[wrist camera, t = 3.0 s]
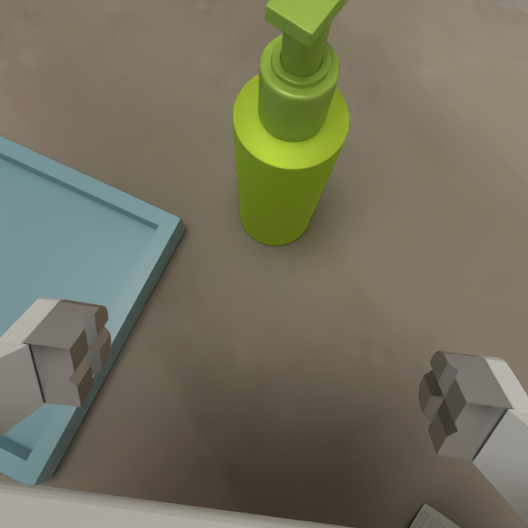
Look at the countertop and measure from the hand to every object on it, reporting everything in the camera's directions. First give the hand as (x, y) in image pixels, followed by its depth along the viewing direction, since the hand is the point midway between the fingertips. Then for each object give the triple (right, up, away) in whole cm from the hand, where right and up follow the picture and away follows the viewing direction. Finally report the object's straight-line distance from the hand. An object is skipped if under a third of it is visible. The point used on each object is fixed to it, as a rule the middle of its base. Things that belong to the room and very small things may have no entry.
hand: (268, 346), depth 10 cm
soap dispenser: (+1, +7, +23) cm, 24 cm away
